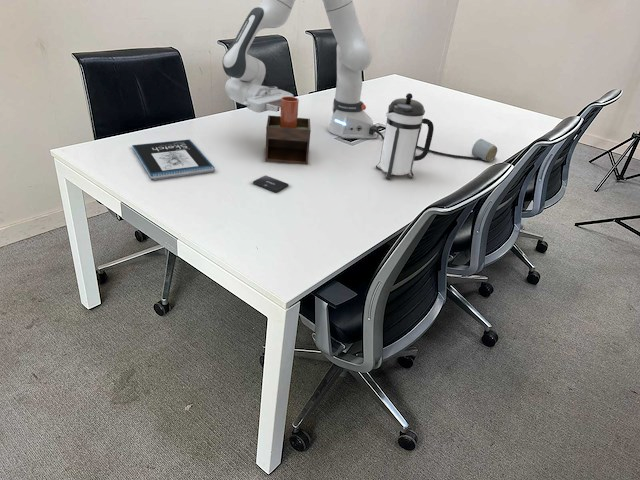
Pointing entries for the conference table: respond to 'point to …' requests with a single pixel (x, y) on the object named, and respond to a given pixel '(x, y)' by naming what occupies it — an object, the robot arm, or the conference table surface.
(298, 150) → the storage cube
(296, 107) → the tumbler
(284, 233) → the conference table surface
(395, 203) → the conference table surface
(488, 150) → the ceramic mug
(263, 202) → the conference table surface
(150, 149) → the sketchbook
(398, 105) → the coffee press
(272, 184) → the solid state drive
